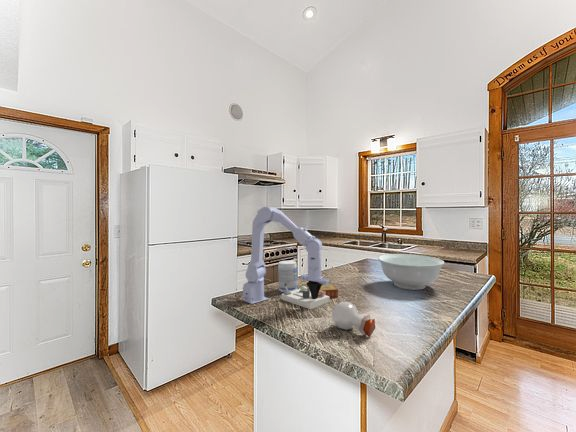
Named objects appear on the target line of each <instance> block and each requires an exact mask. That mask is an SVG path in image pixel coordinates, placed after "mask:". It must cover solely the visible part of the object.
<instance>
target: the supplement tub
mask: <svg viewBox="0 0 576 432" xmlns="http://www.w3.org/2000/svg"><path fill="white" fill-rule="evenodd" d="M297 265H298V264H297V261H295V260H281V261H279V262H278V266H277V269H278V274H277V275H278V291H279V292H281V293H284V292H290V291H294V290H297V289H298V268H297V267H298V266H297ZM285 283H286V284H287V288H288V291H286V288H285V286H284V284H285Z"/></svg>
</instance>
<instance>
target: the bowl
mask: <svg viewBox="0 0 576 432" xmlns="http://www.w3.org/2000/svg"><path fill="white" fill-rule="evenodd" d="M377 258H378V261H379V262H380V265H381V269H382V272H383V274H384V275H385V277H387V278H388V280H390V281H392V282H393V283H394V285H395V286H396V287H397V288H400V289H405V290H411V291H414V290H415V291H420V290H423V289H425V288H426V287H427V286H428V285H429V284H432V283H433V282H435V281H436V280H437V279H438V278H439V277H440V274H441V270H442V267H443V266H444V265H445V261H444V260H442V259H440V258H438V257H433V256H428V255H422V254H413V253H412V254H411V253H410V254H409V253H408V254H407V253H388V254H382V255H380V256H378V257H377ZM395 286H394V287H395Z"/></svg>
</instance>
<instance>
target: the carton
mask: <svg viewBox="0 0 576 432" xmlns="http://www.w3.org/2000/svg"><path fill="white" fill-rule="evenodd" d="M320 290H321V291H325V292H326V294H325V295H326V296H330V299H333V298H335V299H336V298H339V289H338V288H337V287H336V286H335V285H334V284H333V283H332V282H331V281H330V280H329V285H327V286H326V285H324V284H322V286H321V288H320Z"/></svg>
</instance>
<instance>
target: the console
mask: <svg viewBox="0 0 576 432" xmlns="http://www.w3.org/2000/svg"><path fill="white" fill-rule="evenodd" d="M281 300H283V301H285V302H288V303H291V304H293V305H296V306H300V307H302V308H305V309H308V310H311V309H314V308H318V307H320V306H323V305H326V304H328V303H331V302H330V300H331V298H330V296H326V295H324V293H321V295H319V294H318V298H317V299H312V296H311V293H310V297H309V298H303V292H301V291H300V288H297V290H294V291H290V292H282V293H281Z"/></svg>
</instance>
